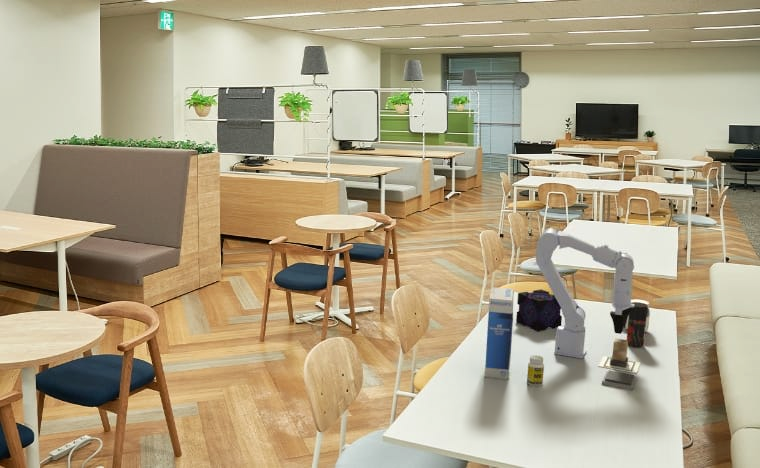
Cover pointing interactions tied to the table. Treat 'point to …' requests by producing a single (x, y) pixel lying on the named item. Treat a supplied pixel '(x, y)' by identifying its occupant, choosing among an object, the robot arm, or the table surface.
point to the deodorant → (637, 325)
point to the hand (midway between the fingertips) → (619, 329)
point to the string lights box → (499, 333)
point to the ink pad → (619, 380)
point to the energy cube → (538, 310)
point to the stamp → (619, 353)
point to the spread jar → (646, 317)
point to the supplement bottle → (535, 371)
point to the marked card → (630, 367)
